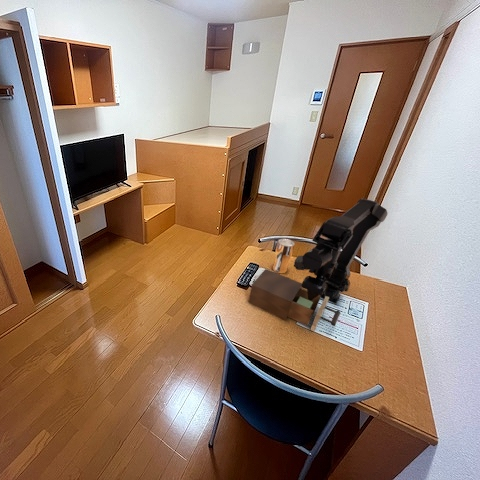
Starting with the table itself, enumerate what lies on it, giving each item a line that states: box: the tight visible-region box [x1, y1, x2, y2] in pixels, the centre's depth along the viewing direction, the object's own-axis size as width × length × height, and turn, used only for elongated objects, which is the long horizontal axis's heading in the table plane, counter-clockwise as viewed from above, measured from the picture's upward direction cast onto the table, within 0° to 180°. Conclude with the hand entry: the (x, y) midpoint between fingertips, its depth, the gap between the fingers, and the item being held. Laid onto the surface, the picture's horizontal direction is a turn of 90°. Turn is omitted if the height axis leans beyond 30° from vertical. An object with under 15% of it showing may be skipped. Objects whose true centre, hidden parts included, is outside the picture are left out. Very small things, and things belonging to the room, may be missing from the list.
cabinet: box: [248, 268, 302, 321], centre depth 102 cm, size 15×13×10 cm
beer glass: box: [272, 238, 296, 274], centre depth 118 cm, size 7×7×15 cm
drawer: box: [287, 288, 341, 332], centre depth 94 cm, size 18×11×8 cm, turn 48°
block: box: [296, 297, 313, 309], centre depth 96 cm, size 4×4×4 cm
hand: (313, 292), depth 92 cm, fingers open, 9 cm apart
